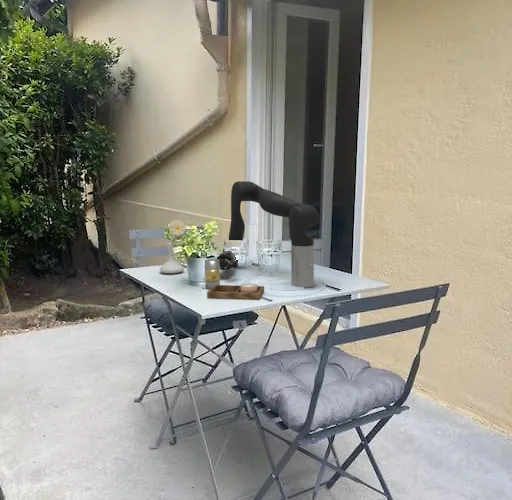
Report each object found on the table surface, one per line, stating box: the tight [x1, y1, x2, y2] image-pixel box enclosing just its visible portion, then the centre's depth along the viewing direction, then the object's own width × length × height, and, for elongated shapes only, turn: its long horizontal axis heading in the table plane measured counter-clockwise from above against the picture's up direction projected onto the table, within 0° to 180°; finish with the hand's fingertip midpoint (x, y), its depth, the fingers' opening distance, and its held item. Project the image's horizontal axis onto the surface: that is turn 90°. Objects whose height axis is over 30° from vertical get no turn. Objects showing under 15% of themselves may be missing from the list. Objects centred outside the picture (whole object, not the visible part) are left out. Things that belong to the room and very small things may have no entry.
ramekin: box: [240, 282, 258, 293], centre depth 209 cm, size 6×6×4 cm
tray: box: [206, 284, 265, 301], centre depth 210 cm, size 20×12×3 cm, turn 81°
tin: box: [204, 258, 221, 291], centre depth 222 cm, size 6×6×12 cm
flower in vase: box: [159, 219, 187, 274], centre depth 254 cm, size 13×11×25 cm
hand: (217, 267), depth 231 cm, fingers open, 8 cm apart
